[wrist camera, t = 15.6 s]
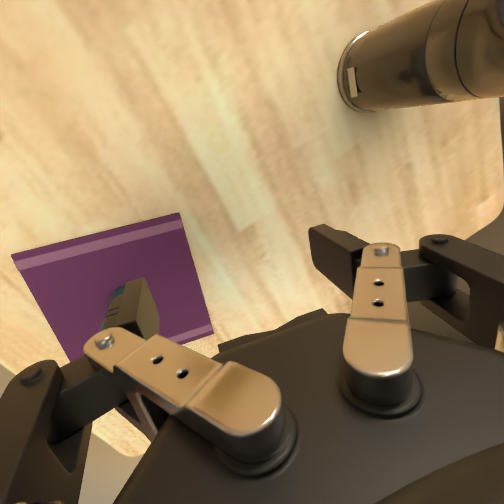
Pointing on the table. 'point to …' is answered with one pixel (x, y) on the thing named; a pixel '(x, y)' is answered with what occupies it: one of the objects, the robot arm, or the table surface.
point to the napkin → (116, 280)
